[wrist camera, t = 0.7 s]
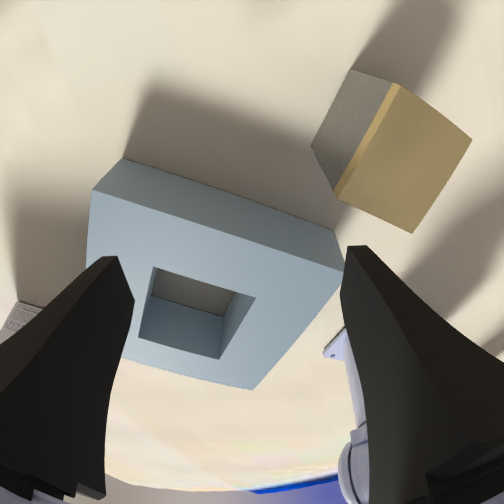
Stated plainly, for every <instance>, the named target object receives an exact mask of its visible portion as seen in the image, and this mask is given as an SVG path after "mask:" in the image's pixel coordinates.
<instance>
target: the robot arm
mask: <svg viewBox="0 0 504 504" xmlns="http://www.w3.org/2000/svg"><path fill="white" fill-rule="evenodd" d="M340 300H341V306H342V313H343V319H344V324H345V328H344V329H343V330H342V332H341V333H340V334H339V335H338V336H337V337H336V338H335V339H334V340H333V341H332V342H331V343H330V345H329V346H328V347H327V348H326V349H325V350H324V351H323V356H324V357H326V358H332V359H337V360H343V361H345V366H346V371H347V376H348V381H349V386H350V392H351V397H352V403H353V408H354V414H355V420H356V426H357V429H355V430H353V431H351V432H350V435H351V442H349V443H347V444H346V445H345V446H344V448H343V450H342V453H341V455H340V458H339V462H338V478H339V484H340V487H341V491H342V493H343V496H344V498H345V499H346V501H347V502H348V504H504V362H502V361H500V360H499V359H497V358H496V357H494V356H493V355H491V354H489V353H488V352H486V351H485V350H484V349H482V348H481V347H479V346H478V345H476V344H475V343H474V342H472V341H471V340H469V339H468V338H467V337H465V336H464V335H463V334H461V333H460V332H459V331H458V330H456V329H455V328H454V327H453V326H451V325H450V324H449V323H448V322H446V321H445V320H444V319H443V318H442V317H440V316H439V315H438V314H437V313H436V312H435V311H433V310H432V309H431V308H430V307H429V306H428V305H427V304H426V303H425V302H424V301H423V300H421V299H420V298H419V297H418V296H417V295H416V294H415V293H414V292H413V291H412V290H411V289H410V288H409V287H408V286H407V285H406V284H405V283H404V282H403V281H402V280H401V279H400V278H399V277H398V276H397V275H396V274H395V273H394V272H393V271H392V270H391V269H390V268H389V267H388V266H387V265H386V264H385V263H384V262H383V261H382V260H381V259H380V258H379V257H378V256H377V255H376V254H375V253H374V252H373V251H372V250H371V249H370V248H369V247H368V246H367V245H361V246H347V253H346V260H345V266H344V272H343V278H342V284H341V290H340ZM134 305H135V299H134V297H133V294H132V292H131V289H130V287H129V284H128V282H127V279H126V277H125V274H124V272H123V269H122V266H121V264H120V261H119V258H118V256H102V257H100V258H99V259H98V260H96V261H95V262H94V263H93V264H91V265H90V266H89V267H88V268H87V269H86V270H85V271H84V272H82V273H81V274H80V275H79V276H78V277H77V278H76V279H75V280H74V281H73V282H72V283H71V284H69V285H68V286H67V287H66V288H65V289H64V290H63V291H62V292H61V293H60V294H59V295H58V296H57V297H56V298H55V299H53V300H52V301H51V302H50V303H49V304H48V305H47V306H46V307H45V308H44V309H42V310H41V311H40V312H39V313H38V314H37V315H36V316H35V317H34V318H33V319H31V320H30V321H29V322H28V323H27V324H26V325H24V326H23V327H22V328H21V329H19V330H18V331H17V332H16V333H14V334H13V335H12V336H11V337H9V338H8V339H7V340H5V341H4V342H2V343H1V344H0V504H70V503H67V502H64V501H63V498H64V495H66V496H69V497H72V498H74V497H75V495H76V493H77V494H80V495H83V496H86V497H90V498H93V499H96V500H100V499H102V498H104V497H105V496H106V488H105V468H104V456H105V434H106V423H107V414H108V407H109V400H110V394H111V390H112V385H113V381H114V378H115V375H116V371H117V368H118V365H119V362H120V358H121V355H122V352H123V349H124V346H125V342H126V339H127V336H128V333H129V330H130V326H131V321H132V316H133V310H134Z"/></svg>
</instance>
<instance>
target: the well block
mask: <svg viewBox="0 0 504 504" xmlns="http://www.w3.org/2000/svg"><path fill="white" fill-rule="evenodd" d="M102 256H118V258H119V261H120V264H121V266H122V269H123V272H124V274H125V277H126V279H127V282H128V284H129V287H130V289H131V292H132V294H133V297H134V299H135V305H134V310H133V316H132V321H131V326H130V330H129V333H128V336H127V339H126V342H125V346H124V349H123V352H122V355H121V357H122V358H125V359H128V360H131V361H135V362H138V363H141V364H145V365H148V366H151V367H155V368H158V369H162V370H165V371H169V372H173V373H177V374H180V375H184V376H188V377H192V378H196V379H201V380H205V381H209V382H214V383H218V384H223V385H227V386H232V387H237V388H242V389H248V390H253V389H254V388H255V387H256V386H257V385H258V384H259V383H260V382H261V381H262V379H263V378H264V377H265V376H266V375H267V374H268V373H269V371H270V370H271V369H272V368H273V367H274V366H275V365H276V363H277V362H278V361H279V360H280V359H281V358H282V357H283V355H284V354H285V353H286V352H287V351H288V349H289V348H290V347H291V346H292V345H293V344H294V342H295V341H296V340H297V339H298V338H299V336H300V335H301V334H302V333H303V332H304V330H305V329H306V328H307V327H308V325H309V324H310V323H311V322H312V320H313V319H314V318H315V317H316V315H317V314H318V313H319V312H320V310H321V309H322V308H323V307H324V305H325V304H326V303H327V301H328V300H329V299H330V298H331V296H332V295H333V294H334V292H335V291H336V290H337V289H338V287H339V286H340V285H341V283H342V278H343V272H344V266H345V262H344V259H343V256H342V253H341V250H340V248H339V245H338V242H337V239H336V236H335V234H334V231H332V230H329V229H327V228H324V227H321V226H319V225H316V224H314V223H311V222H308V221H306V220H303V219H300V218H298V217H295V216H292V215H290V214H287V213H284V212H282V211H279V210H276V209H273V208H271V207H268V206H265V205H262V204H260V203H257V202H254V201H251V200H248V199H245V198H243V197H240V196H237V195H234V194H231V193H228V192H225V191H222V190H220V189H217V188H214V187H211V186H208V185H205V184H202V183H199V182H196V181H193V180H190V179H187V178H184V177H181V176H178V175H174V174H171V173H168V172H165V171H162V170H159V169H156V168H152V167H149V166H146V165H143V164H139V163H136V162H133V161H130V160H126V159H123V158H121V159H120V160H119V162H118V163H117V164H116V165H115V166H114V167H113V168H112V169H111V170H110V171H109V172H108V173H107V174H106V175H105V176H104V177H103V178H102V179H101V180H100V181H99V182H98V184H97V185H96V186H95V187H94V188H93V189H92V194H91V202H90V212H89V223H88V236H87V252H86V269H87V268H88V267H89V266H90V265H91V264H93V263H94V262H95V261H96V260H98V259H99V258H100V257H102ZM158 268H160V269H163V270H166V271H169V272H172V273H176V274H179V275H182V276H185V277H188V278H192V279H195V280H198V281H201V282H205V283H208V284H211V285H215V286H218V287H221V288H225V289H228V290H232V291H235V292H236V293H235V294H234V296H233V298H232V300H231V302H230V304H229V306H228V308H227V310H226V312H225V314H224V316H223V317H222V316H218V315H215V314H211V313H208V312H204V311H201V310H197V309H194V308H190V307H187V306H184V305H180V304H177V303H174V302H170V301H167V300H164V299H161V298H157V297H154V296H151V293H152V289H153V285H154V281H155V277H156V273H157V269H158Z"/></svg>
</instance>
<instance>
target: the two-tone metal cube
mask: <svg viewBox="0 0 504 504" xmlns="http://www.w3.org/2000/svg"><path fill="white" fill-rule="evenodd" d="M471 141H472V139H471V138H470V137H469V136H468V135H467V134H465V133H464V132H463V131H462V130H461V129H459V128H458V127H457V126H456V125H454V124H453V123H452V122H451V121H449V120H448V119H447V118H446V117H444V116H443V115H442V114H441V113H439V112H438V111H437V110H435V109H434V108H433V107H431V106H430V105H429V104H427V103H426V102H424V101H423V100H422V99H420V98H419V97H417V96H416V95H414V94H413V93H412V92H410V91H409V90H407V89H406V88H404V87H403V86H401V85H398V84H396V83H393V82H390V81H387V80H384V79H381V78H378V77H375V76H372V75H369V74H365V73H362V72H359V71H355V70H352V69H349V71H348V73H347V75H346V77H345V79H344V81H343V83H342V85H341V87H340V89H339V91H338V93H337V95H336V97H335V99H334V101H333V103H332V105H331V107H330V109H329V111H328V113H327V115H326V117H325V119H324V121H323V123H322V125H321V126H320V128H319V130H318V132H317V134H316V136H315V138H314V140H313V142H312V144H311V148H312V149H313V151H314V153H315V155H316V157H317V159H318V161H319V163H320V165H321V167H322V169H323V171H324V173H325V175H326V177H327V179H328V181H329V183H330V185H331V187H332V189H333V191H334V194H335V196H336V198H337V199H338V200H340V201H342V202H345V203H347V204H349V205H351V206H354V207H356V208H358V209H360V210H363V211H365V212H367V213H369V214H371V215H373V216H376V217H378V218H380V219H382V220H384V221H386V222H388V223H391V224H393V225H395V226H397V227H399V228H401V229H403V230H405V231H407V232H409V233H411V234H412V233H413V232H414V230H415V229H416V228H417V226H418V225H419V223H420V222H421V220H422V219H423V218H424V216H425V215H426V213H427V212H428V210H429V209H430V207H431V206H432V204H433V203H434V201H435V200H436V198H437V197H438V195H439V194H440V192H441V191H442V189H443V188H444V186H445V185H446V183H447V181H448V180H449V178H450V177H451V175H452V173H453V172H454V170H455V169H456V167H457V165H458V164H459V162H460V160H461V159H462V157H463V155H464V154H465V152H466V150H467V148H468V147H469V145H470V143H471Z"/></svg>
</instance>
